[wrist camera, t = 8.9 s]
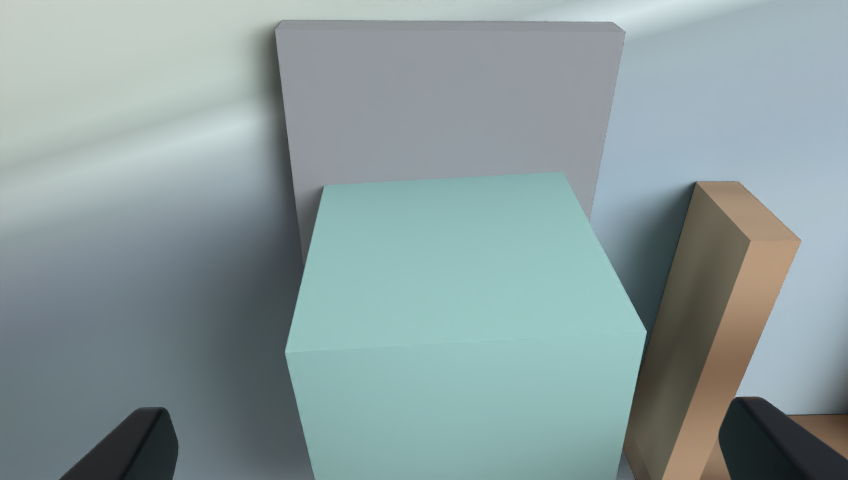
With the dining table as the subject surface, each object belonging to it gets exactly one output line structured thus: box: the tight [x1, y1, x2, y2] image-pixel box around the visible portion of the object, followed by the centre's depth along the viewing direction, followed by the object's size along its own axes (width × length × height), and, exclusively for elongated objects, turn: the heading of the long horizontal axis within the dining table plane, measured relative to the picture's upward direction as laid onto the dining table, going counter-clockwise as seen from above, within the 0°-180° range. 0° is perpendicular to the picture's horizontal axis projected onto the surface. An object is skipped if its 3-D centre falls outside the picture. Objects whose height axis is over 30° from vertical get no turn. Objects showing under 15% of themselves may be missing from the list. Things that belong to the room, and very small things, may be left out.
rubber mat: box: [275, 20, 626, 269], centre depth 14 cm, size 10×6×1 cm, turn 179°
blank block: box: [285, 172, 647, 480], centre depth 13 cm, size 9×5×5 cm, turn 3°
